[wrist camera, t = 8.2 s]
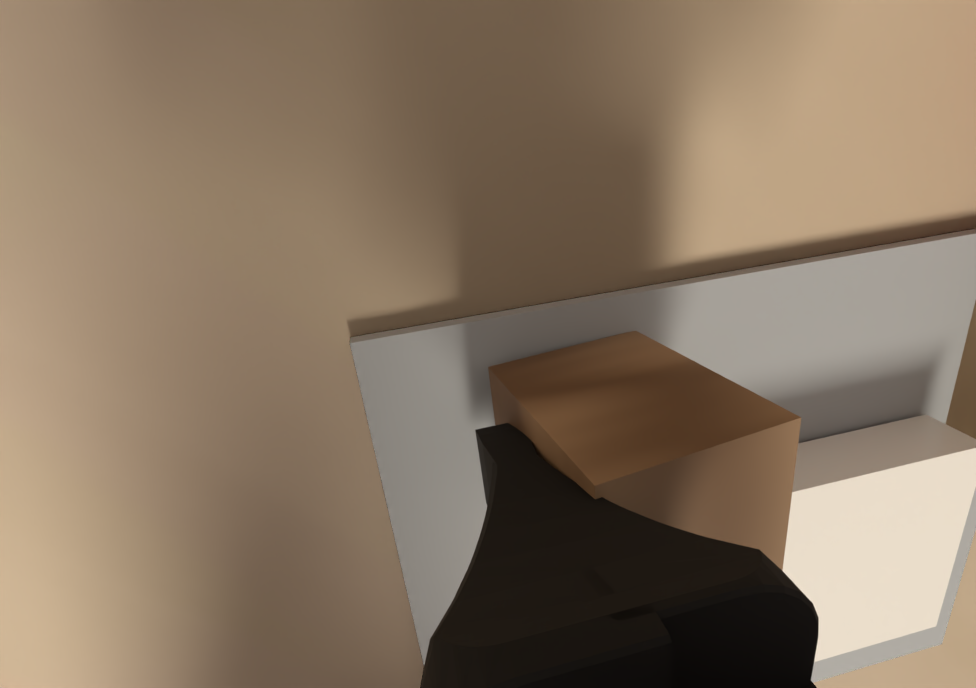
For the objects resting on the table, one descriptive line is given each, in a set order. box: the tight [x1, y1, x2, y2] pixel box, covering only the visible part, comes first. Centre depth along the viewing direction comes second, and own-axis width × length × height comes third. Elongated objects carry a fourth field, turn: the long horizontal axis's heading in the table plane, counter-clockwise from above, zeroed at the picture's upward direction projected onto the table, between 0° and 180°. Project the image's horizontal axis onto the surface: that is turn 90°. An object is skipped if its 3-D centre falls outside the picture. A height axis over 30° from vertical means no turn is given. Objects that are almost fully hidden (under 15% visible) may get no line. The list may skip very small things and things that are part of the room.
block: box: [488, 331, 801, 570], centre depth 12 cm, size 4×4×5 cm
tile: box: [782, 415, 976, 662], centre depth 16 cm, size 2×7×7 cm
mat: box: [350, 229, 976, 683], centre depth 17 cm, size 20×17×1 cm
